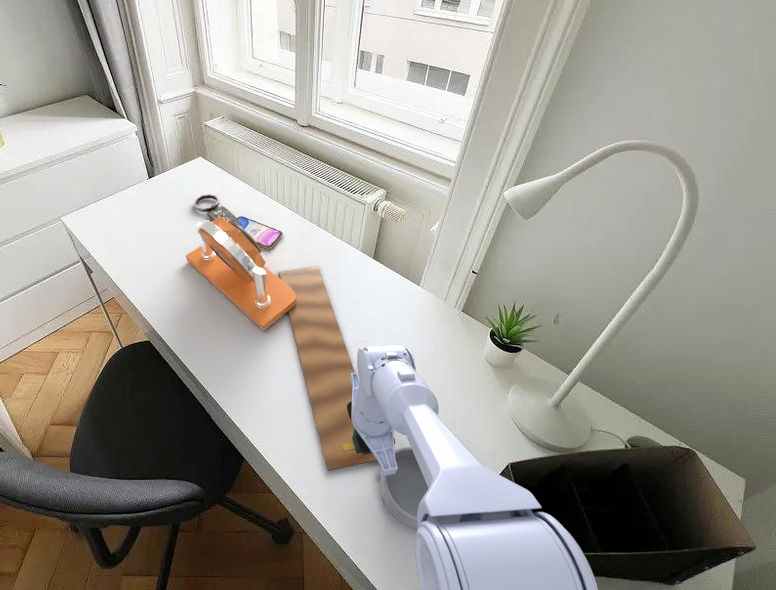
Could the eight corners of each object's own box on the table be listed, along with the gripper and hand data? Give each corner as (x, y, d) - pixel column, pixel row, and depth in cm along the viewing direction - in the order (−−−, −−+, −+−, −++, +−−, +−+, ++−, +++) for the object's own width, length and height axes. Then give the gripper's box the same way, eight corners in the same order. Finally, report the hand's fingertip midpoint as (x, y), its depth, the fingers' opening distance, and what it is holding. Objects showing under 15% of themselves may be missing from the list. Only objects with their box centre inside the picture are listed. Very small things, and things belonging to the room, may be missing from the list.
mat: (384, 458, 69) (384, 457, 69) (327, 470, 68) (327, 469, 68) (317, 267, 103) (317, 266, 103) (279, 273, 102) (279, 272, 102)
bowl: (458, 512, 63) (465, 504, 60) (402, 540, 60) (407, 533, 58) (419, 447, 70) (424, 437, 68) (368, 470, 68) (371, 461, 65)
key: (372, 434, 68) (375, 424, 66) (377, 449, 67) (381, 439, 64) (340, 440, 68) (342, 430, 65) (344, 456, 66) (346, 446, 63)
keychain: (221, 237, 113) (220, 231, 111) (190, 204, 125) (189, 199, 124) (244, 225, 116) (244, 220, 115) (212, 194, 128) (211, 189, 127)
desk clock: (261, 333, 88) (254, 271, 75) (185, 262, 106) (169, 202, 93) (301, 301, 94) (300, 238, 82) (223, 239, 112) (212, 179, 99)
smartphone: (269, 251, 108) (269, 248, 107) (224, 232, 114) (224, 229, 114) (284, 234, 113) (284, 231, 112) (240, 217, 119) (240, 214, 119)
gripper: (425, 451, 53) (406, 487, 62) (383, 353, 64) (372, 394, 73) (373, 462, 52) (362, 496, 61) (340, 360, 63) (334, 402, 72)
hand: (365, 441), depth 67 cm, fingers closed on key, 2 cm apart
